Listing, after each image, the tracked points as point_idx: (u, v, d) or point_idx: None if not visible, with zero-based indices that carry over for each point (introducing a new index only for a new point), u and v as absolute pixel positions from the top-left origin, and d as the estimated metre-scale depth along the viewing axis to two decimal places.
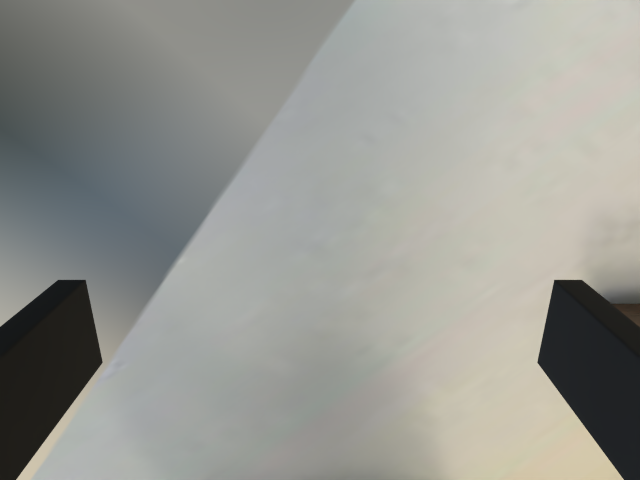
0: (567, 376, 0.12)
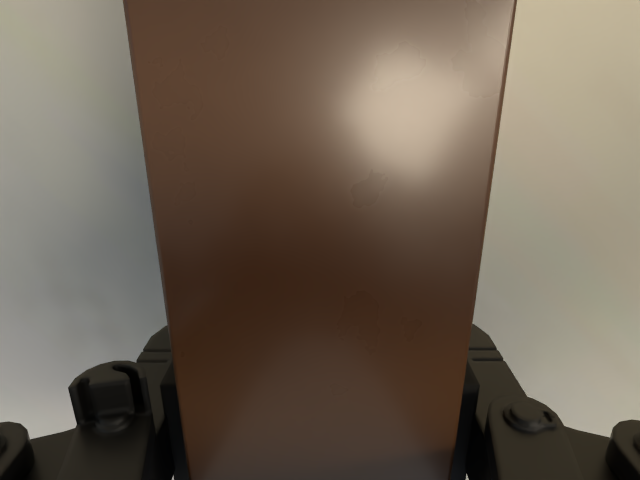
0: None
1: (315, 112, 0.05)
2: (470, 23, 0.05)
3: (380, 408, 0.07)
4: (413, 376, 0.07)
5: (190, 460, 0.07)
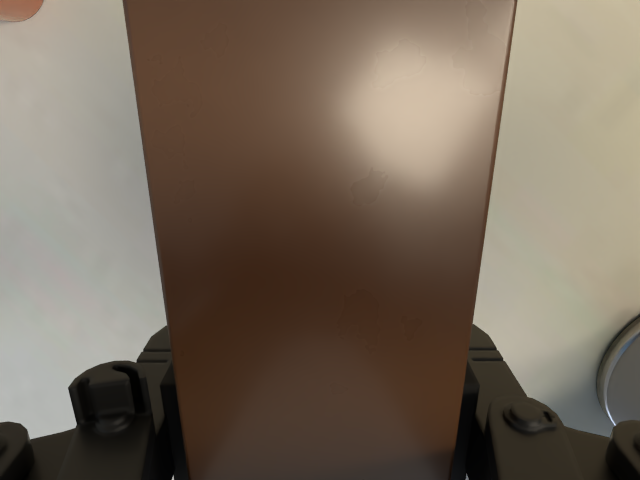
0: None
1: (315, 111, 0.05)
2: (471, 20, 0.05)
3: (380, 408, 0.07)
4: (413, 375, 0.07)
5: (189, 459, 0.07)
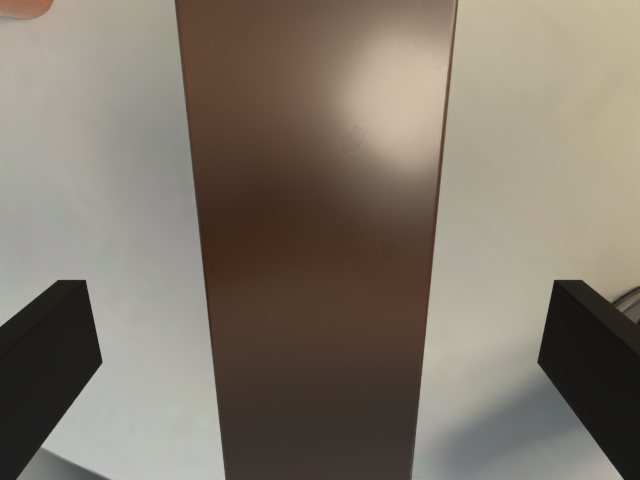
0: (567, 376, 0.12)
1: (313, 81, 0.07)
2: (425, 14, 0.07)
3: (364, 315, 0.09)
4: (389, 288, 0.09)
5: (216, 360, 0.09)
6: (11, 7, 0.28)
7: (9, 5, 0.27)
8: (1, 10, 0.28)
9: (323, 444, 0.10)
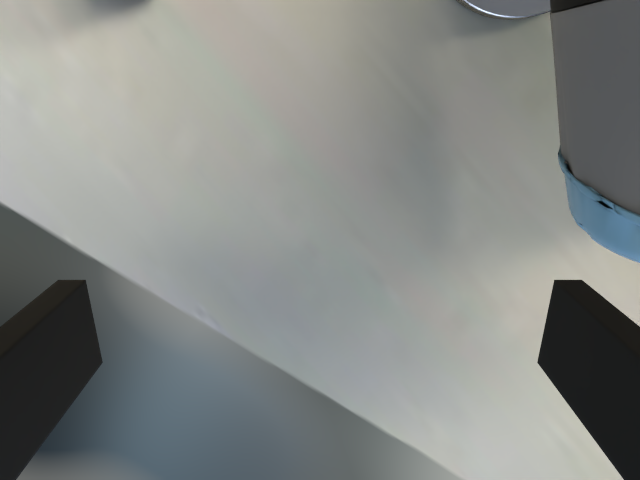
0: (567, 376, 0.12)
1: None
2: None
3: None
4: None
5: None
6: None
7: None
8: None
9: None
